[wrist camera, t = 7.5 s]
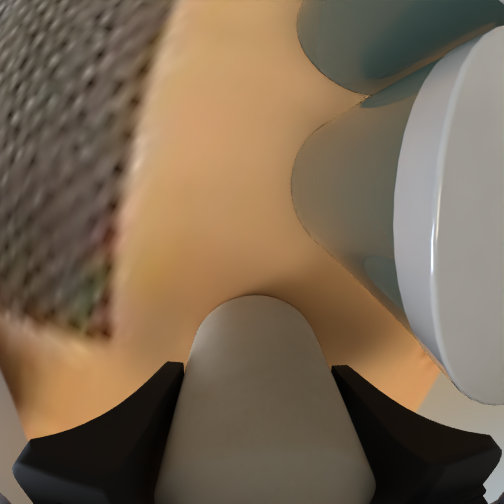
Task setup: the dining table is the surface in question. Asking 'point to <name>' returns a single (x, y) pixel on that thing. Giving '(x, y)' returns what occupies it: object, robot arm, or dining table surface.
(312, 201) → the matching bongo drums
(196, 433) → the candle
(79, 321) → the dining table surface
